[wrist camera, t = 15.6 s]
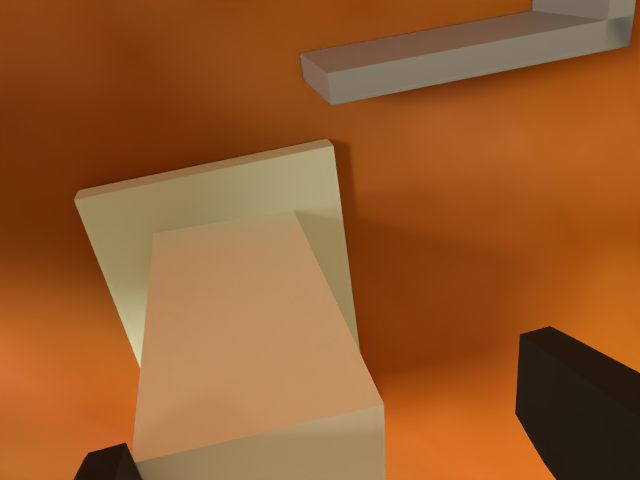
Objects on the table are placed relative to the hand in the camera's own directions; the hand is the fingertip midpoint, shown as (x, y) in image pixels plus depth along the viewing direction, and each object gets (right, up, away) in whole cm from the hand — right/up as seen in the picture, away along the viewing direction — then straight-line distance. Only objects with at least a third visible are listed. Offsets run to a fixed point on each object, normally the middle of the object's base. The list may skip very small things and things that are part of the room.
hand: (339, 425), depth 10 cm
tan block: (-3, 0, +9) cm, 10 cm away
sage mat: (-3, +1, +10) cm, 11 cm away
